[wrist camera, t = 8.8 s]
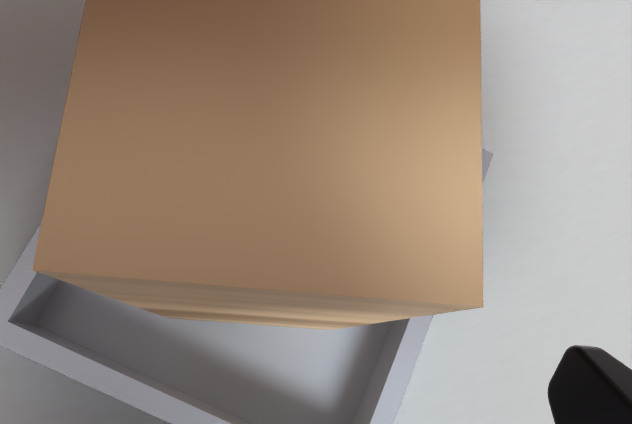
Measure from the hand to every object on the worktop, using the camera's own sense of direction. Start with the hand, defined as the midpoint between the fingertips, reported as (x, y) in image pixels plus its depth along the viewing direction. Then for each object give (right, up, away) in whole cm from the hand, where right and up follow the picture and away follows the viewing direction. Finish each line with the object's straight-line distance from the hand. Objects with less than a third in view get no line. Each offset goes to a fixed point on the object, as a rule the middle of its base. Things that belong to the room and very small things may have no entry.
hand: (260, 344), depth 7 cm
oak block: (-1, +1, +10) cm, 10 cm away
